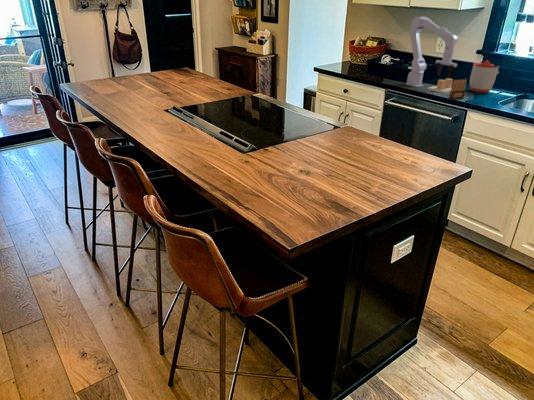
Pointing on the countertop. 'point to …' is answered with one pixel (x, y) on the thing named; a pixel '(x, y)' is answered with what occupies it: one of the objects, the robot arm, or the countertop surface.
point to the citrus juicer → (483, 77)
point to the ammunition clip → (457, 90)
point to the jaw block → (441, 84)
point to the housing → (446, 90)
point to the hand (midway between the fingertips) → (443, 76)
